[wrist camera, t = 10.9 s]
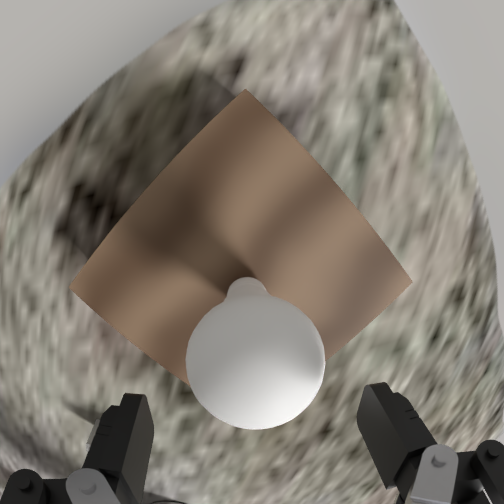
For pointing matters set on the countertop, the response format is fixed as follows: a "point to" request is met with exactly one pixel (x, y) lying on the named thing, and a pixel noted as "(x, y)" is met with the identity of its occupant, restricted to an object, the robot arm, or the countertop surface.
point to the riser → (238, 241)
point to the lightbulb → (255, 358)
